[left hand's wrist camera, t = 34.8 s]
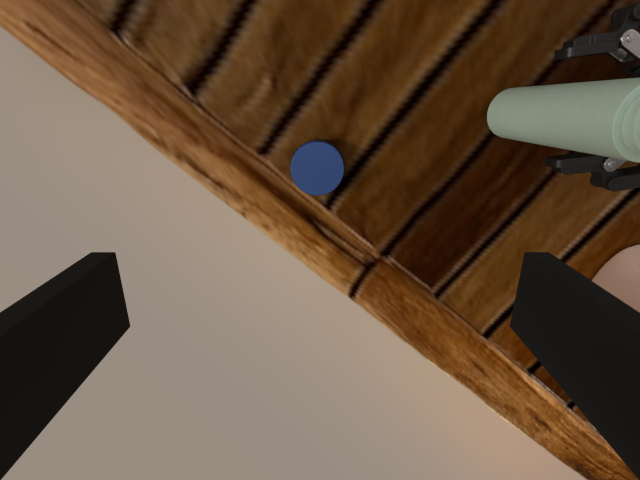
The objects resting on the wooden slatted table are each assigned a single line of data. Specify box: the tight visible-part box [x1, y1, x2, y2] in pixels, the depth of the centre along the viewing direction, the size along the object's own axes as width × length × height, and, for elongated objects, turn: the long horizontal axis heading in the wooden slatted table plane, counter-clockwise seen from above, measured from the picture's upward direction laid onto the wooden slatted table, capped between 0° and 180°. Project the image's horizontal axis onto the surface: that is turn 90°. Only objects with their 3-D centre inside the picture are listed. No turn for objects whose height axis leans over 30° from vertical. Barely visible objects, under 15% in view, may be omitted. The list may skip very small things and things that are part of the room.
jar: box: [487, 78, 640, 163], centre depth 29 cm, size 5×5×19 cm
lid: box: [290, 140, 344, 195], centre depth 38 cm, size 5×5×2 cm
